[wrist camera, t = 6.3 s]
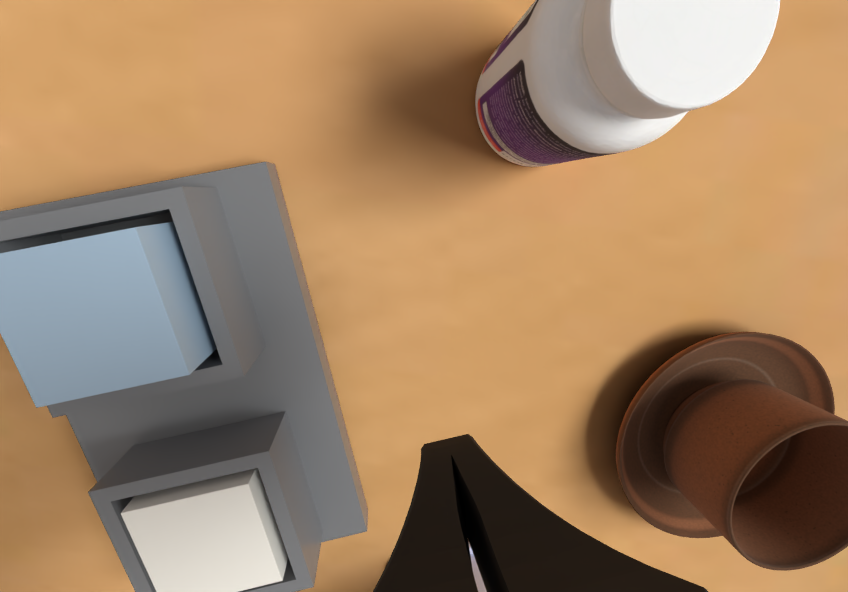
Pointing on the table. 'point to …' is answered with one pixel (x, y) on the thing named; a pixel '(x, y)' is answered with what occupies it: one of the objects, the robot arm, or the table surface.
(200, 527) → the white key
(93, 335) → the blue key
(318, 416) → the key panel
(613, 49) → the pill bottle
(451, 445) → the robot arm
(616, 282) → the table surface
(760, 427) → the cup and saucer
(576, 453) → the table surface
